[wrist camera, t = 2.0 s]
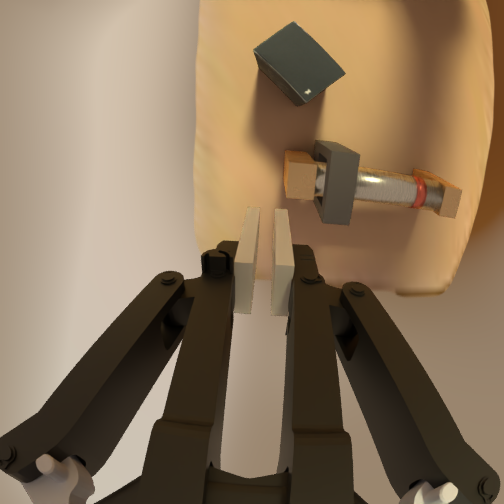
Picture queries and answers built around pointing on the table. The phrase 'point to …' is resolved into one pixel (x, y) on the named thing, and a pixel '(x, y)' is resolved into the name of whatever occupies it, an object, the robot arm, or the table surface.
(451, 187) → the pipe
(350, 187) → the collar
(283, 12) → the table surface
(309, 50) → the box
